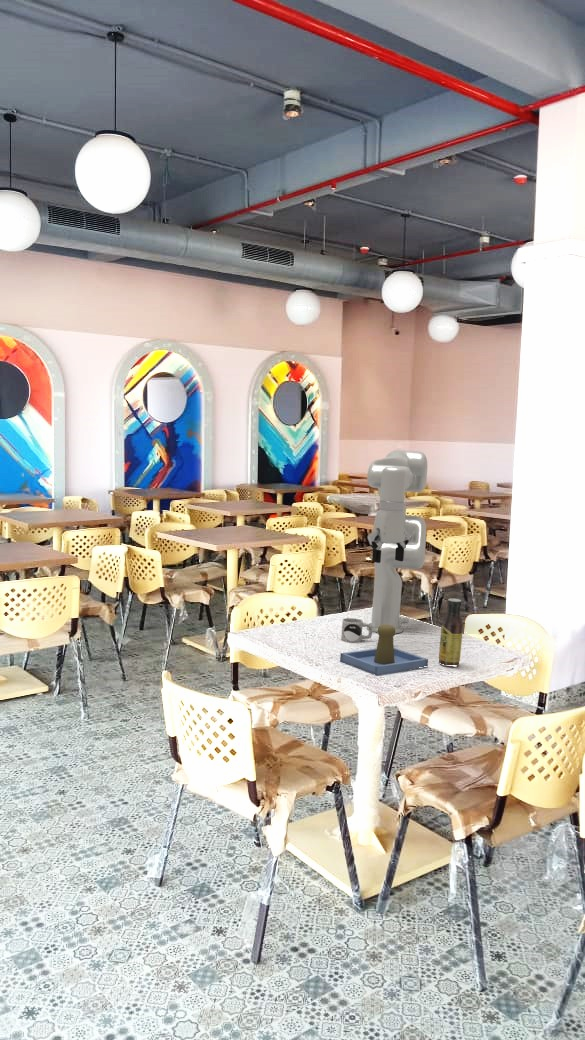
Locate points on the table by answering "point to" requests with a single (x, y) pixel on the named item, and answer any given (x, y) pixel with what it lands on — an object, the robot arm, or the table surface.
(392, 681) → the table surface
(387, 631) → the cork
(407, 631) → the table surface
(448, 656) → the sauce bottle
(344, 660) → the tray
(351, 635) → the mug
